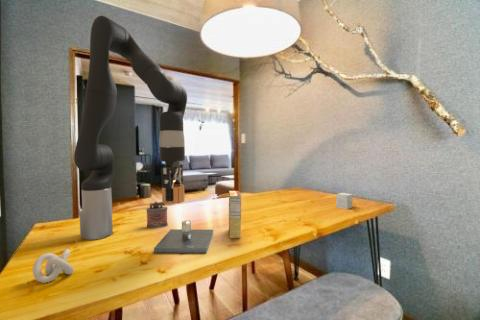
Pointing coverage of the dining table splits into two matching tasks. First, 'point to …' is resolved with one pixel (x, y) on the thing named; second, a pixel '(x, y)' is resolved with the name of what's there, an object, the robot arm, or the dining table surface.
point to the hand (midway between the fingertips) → (173, 198)
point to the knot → (49, 268)
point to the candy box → (234, 214)
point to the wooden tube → (175, 194)
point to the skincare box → (344, 200)
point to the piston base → (185, 240)
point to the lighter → (156, 215)
